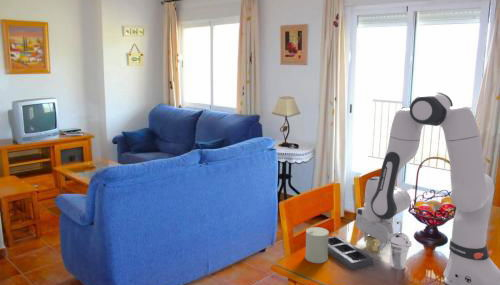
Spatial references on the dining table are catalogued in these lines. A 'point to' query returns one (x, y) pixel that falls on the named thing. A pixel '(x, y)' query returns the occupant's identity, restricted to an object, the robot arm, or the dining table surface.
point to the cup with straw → (399, 248)
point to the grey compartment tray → (348, 253)
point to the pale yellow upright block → (372, 244)
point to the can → (316, 245)
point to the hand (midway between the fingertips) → (373, 245)
